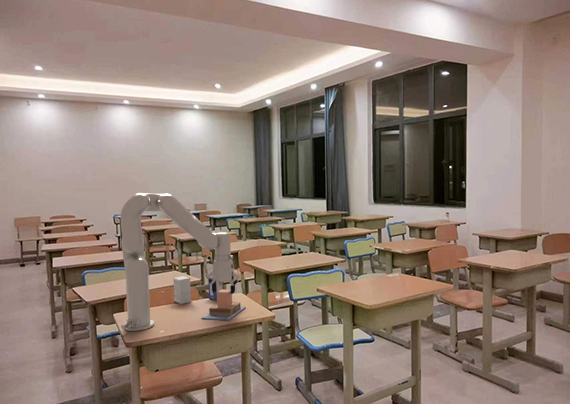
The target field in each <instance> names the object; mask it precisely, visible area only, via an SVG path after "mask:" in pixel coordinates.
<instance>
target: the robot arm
mask: <svg viewBox="0 0 570 404" xmlns="http://www.w3.org/2000/svg"><path fill="white" fill-rule="evenodd" d="M144 212H163V214H164V215H166V216H167V217H168V218H169V219H170V220H171V221H172V222H173V223H174V224H175V225H176V226H177V227H179V228H180V229H181V230H182V231H184V232H185V233H187V234H188V235H189V236H191V237H192V238H193V239H194V240H195V241H197V243H198V245H199V246H200V247H201V248H203V249H205V250H206V251H207V250H208V251H212V250H214V260H213V264H212V272H210V273H208V274H206V278H207V279H208V280H209V282H210V283H211V285H212V292H213V293H214V292H216V291H217V286H216V281H222V282H228V283H229V284H230V290H231V294H232V295H233V294H234V293H235V292H236V285H237V283H238V282H239V280H240V279H241V276H240V275H238V274H237V273H235V268H234V267H235V265H234V262H233V259H234V255H232V253H231V252H232V251H231V234H230V233H229V232H227V231H226V232H225V231H220V232H212V231H211V230H210V229H209V228H208V227H207V226H206V225H205V224H203V223H202V222H201V220H199V218H197V216H195V215H194V214H193V213H192V211H190V210H189V209H188V208H187V207H186V206H185V205H183V204H182V202H180V201H179V199H177V198H176V197H175V196H174V195H172V194H170V193H144V192H137V193H134V194H133V195H132V196H131V197H130V198H129V199H127V201H126V202H125V203H124V204H123V206H122V209H121V212H120V229H121V230H120V231H121V241H120V242H121V250H122V257H123V265H124V271H125V288H126V289H125V290H126V310H127V319H126V321H125V323H123V324H122V325H121V326H120V328H121V329H122V330H125V331H130V332H138V331H144V330H147V329H150V328H152V327H153V326H154V325H155V321H154V320H153V319H151V306H150V305H151V303H150V301H151V300H150V287H149V285H150V284H149V283H150V282H149V279H150V278H149V276H150V275H149V269H150V268H149V263H148V261H147V260H146V256H145V239H144V235H143V234H144V233H143V229H142V215H143V213H144ZM211 277H213V279H212V278H211Z"/></svg>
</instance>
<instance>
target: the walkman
mask: <svg viewBox="0 0 570 404" xmlns="http://www.w3.org/2000/svg"><path fill="white" fill-rule="evenodd" d="M211 278H212V279H213V277H212V276H211ZM207 282H208V283H207V285H208V299H209V300H211V299H210V298H213V299H212V300H214V299H215V300H214V301H217V292H218V291H220V290H224V289H223V287H224V286H223V281H216V286H217V291H216V292H214V293H213V292H212V285H211V283H210V282H209V280H208V281H207Z"/></svg>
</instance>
